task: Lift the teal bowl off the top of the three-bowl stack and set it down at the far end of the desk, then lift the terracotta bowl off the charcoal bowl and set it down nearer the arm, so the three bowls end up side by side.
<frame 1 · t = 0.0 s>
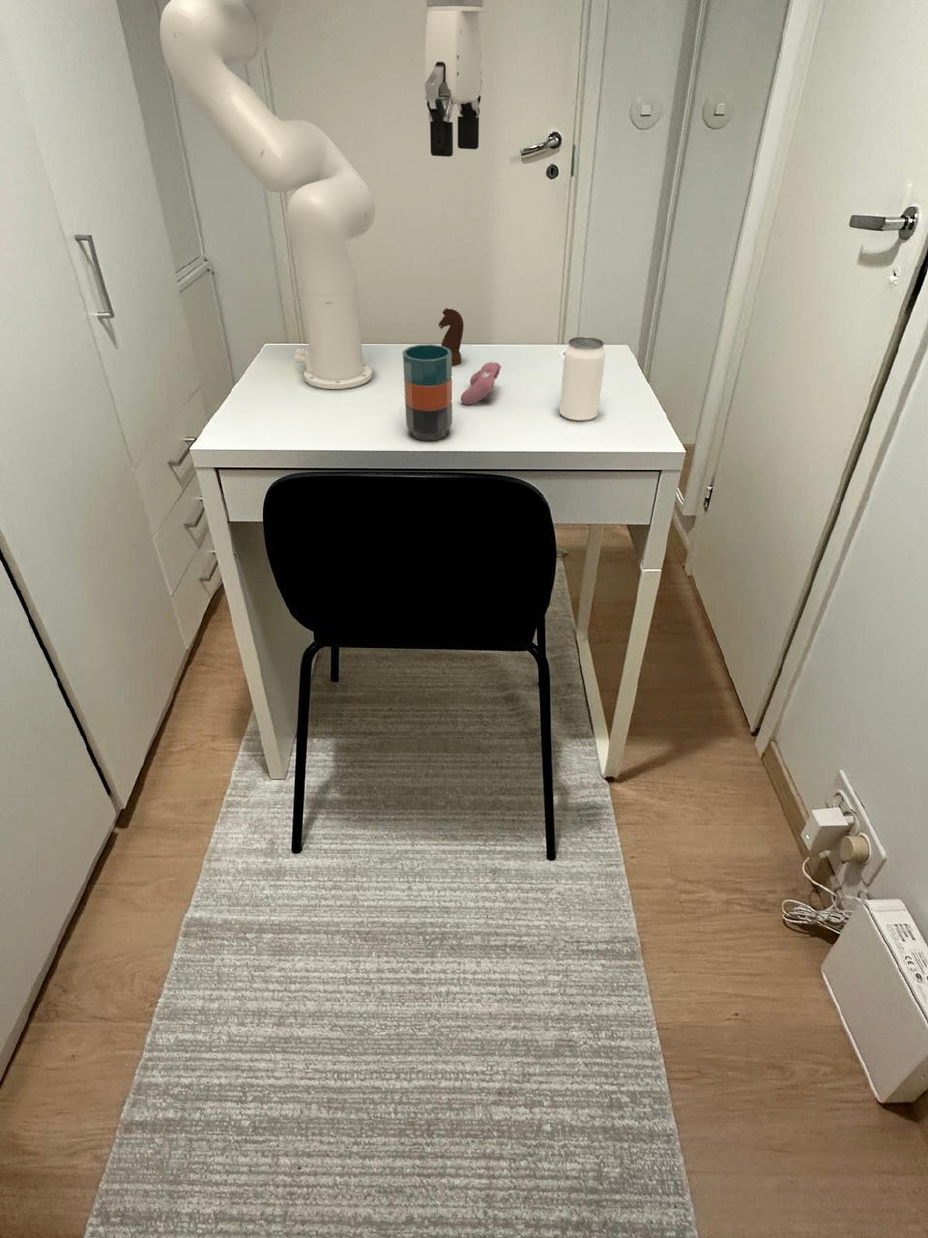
hand: (455, 151, 106), 37 cm above the table, tool pointing down, fingers open, 9 cm apart
middle bowl: (428, 411, 114), point 4 cm above the table, touching bottom bowl, top bowl
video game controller: (481, 397, 129), on the table
chess piece: (450, 363, 143), on the table
bottom bowl: (429, 433, 117), on the table, touching middle bowl
top bowl: (428, 387, 112), point 8 cm above the table, touching middle bowl
can: (578, 415, 123), on the table
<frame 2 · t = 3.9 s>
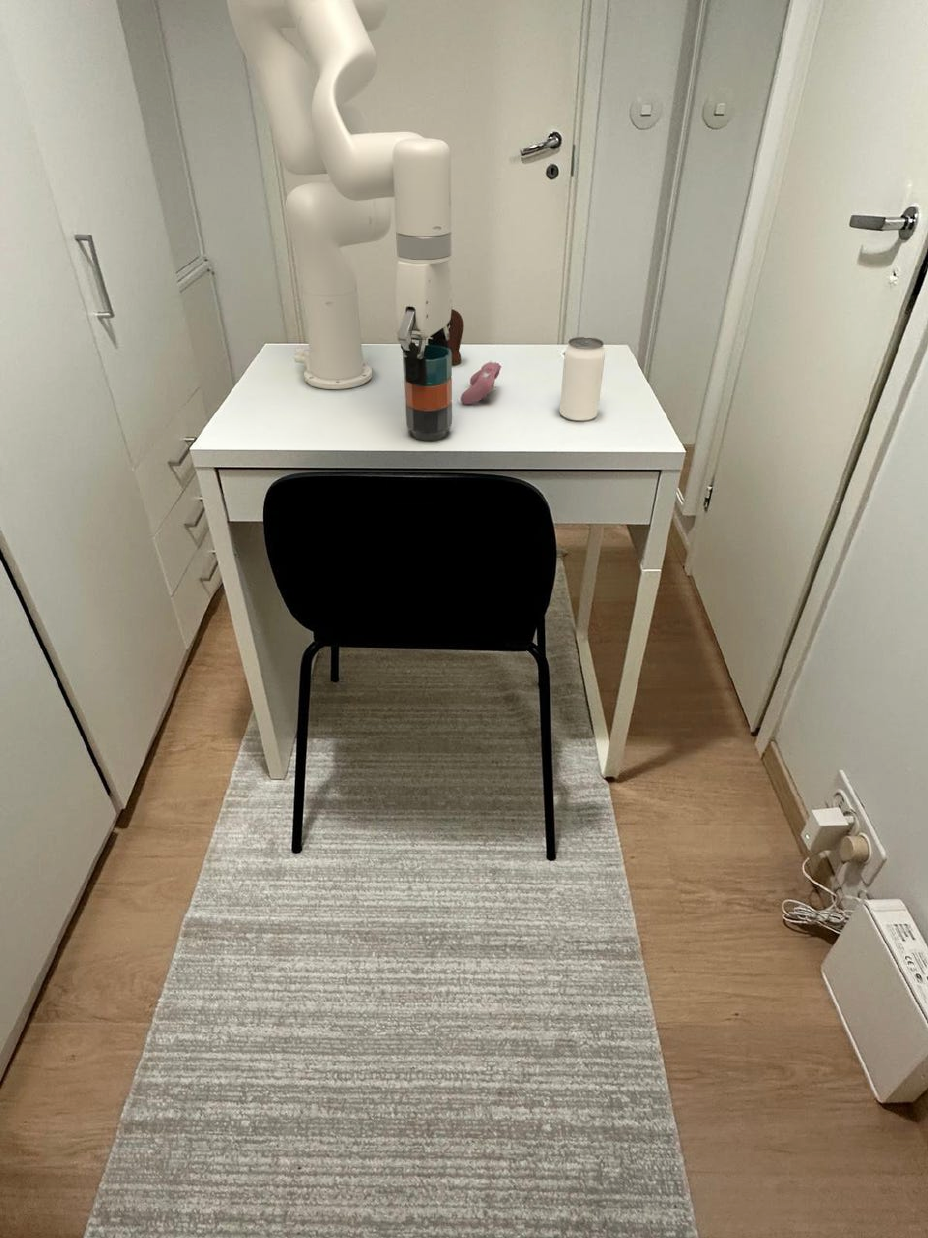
hand: (427, 373, 110), 10 cm above the table, tool pointing down, fingers closed on top bowl, 7 cm apart
top bowl: (428, 387, 112), point 8 cm above the table, touching gripper, middle bowl
everything else where it was.
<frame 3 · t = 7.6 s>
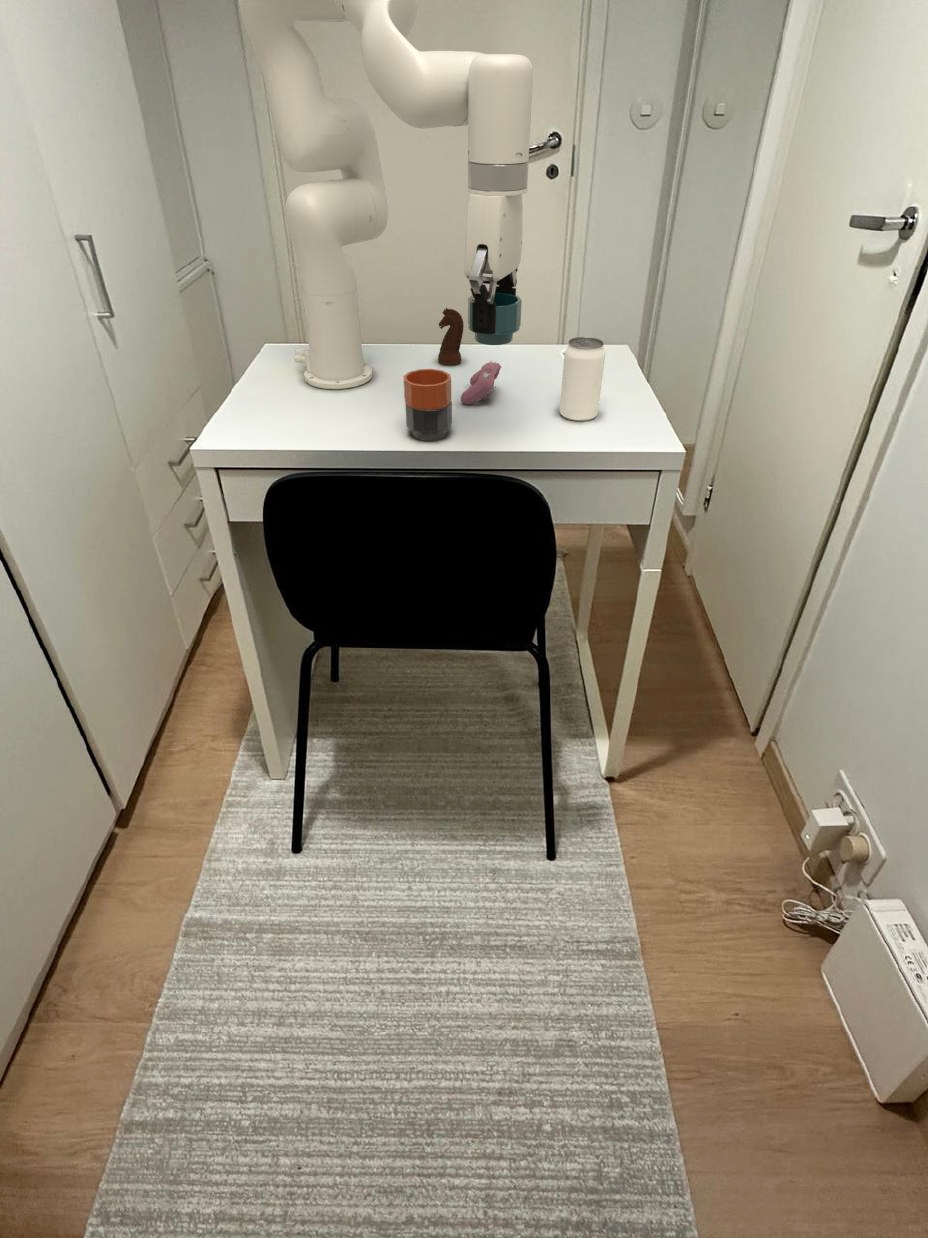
hand: (494, 323, 102), 18 cm above the table, tool pointing down, fingers closed on top bowl, 7 cm apart
middle bowl: (428, 410, 114), point 4 cm above the table, touching bottom bowl
top bowl: (493, 339, 103), point 16 cm above the table, touching gripper
everything else where it was.
when the fingers open (2 cm above the table, at t = 11.6 s): top bowl stays where it is, on the table.
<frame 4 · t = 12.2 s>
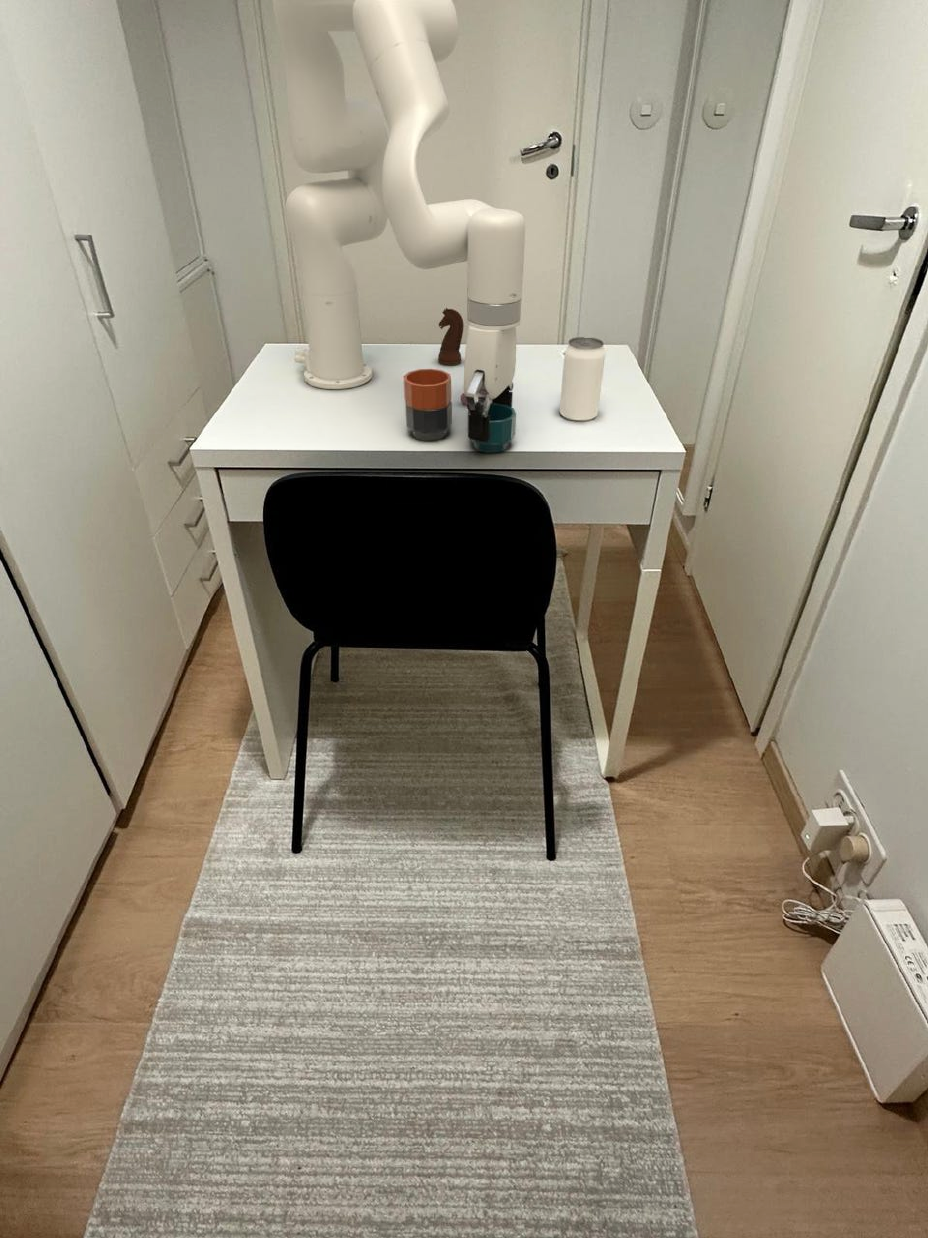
hand: (490, 427, 112), 3 cm above the table, tool pointing down, fingers open, 9 cm apart
top bowl: (490, 445, 113), on the table
everything else where it was.
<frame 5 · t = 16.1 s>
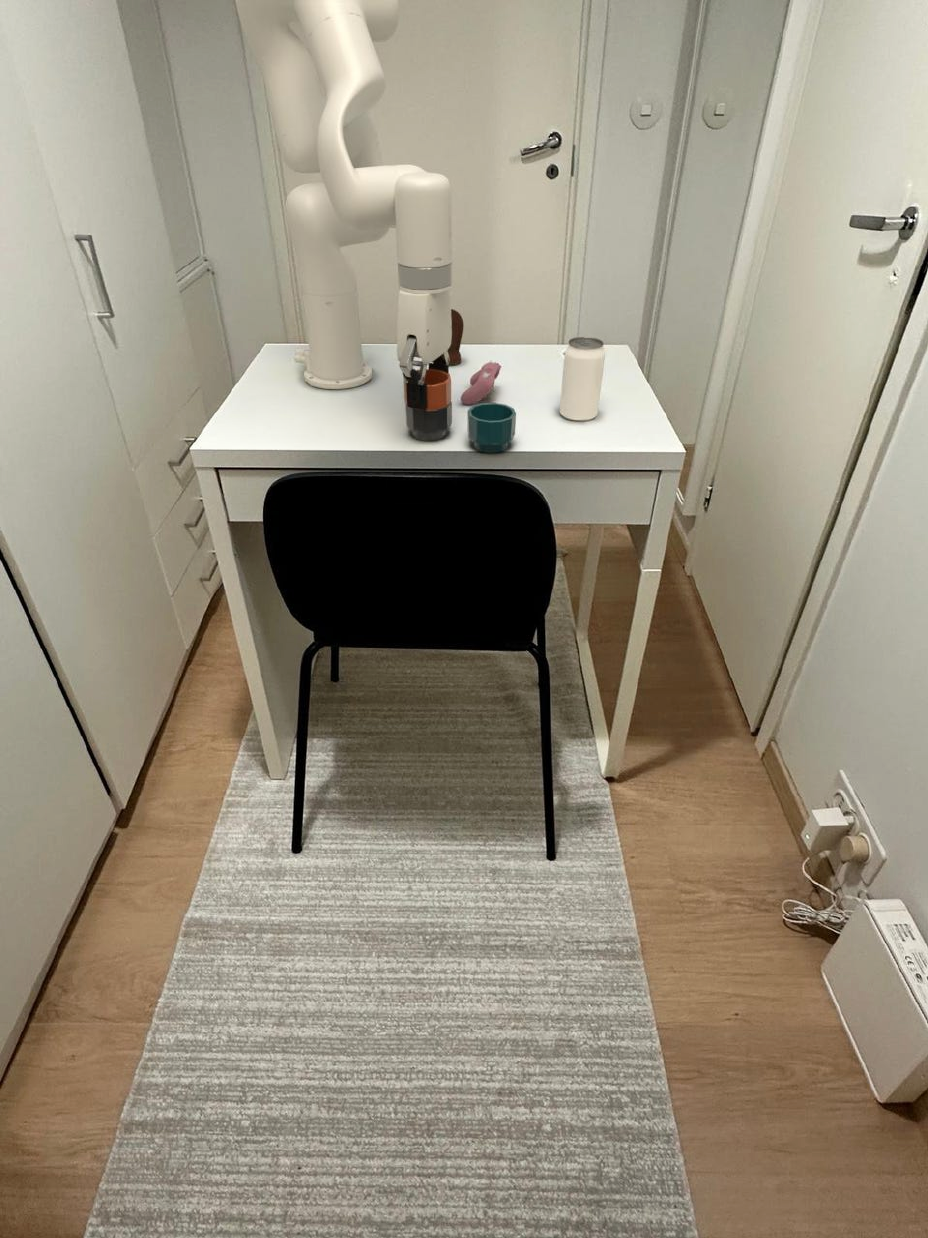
hand: (428, 397, 113), 6 cm above the table, tool pointing down, fingers closed on middle bowl, 7 cm apart
middle bowl: (428, 411, 114), point 4 cm above the table, touching bottom bowl, gripper
everything else where it was.
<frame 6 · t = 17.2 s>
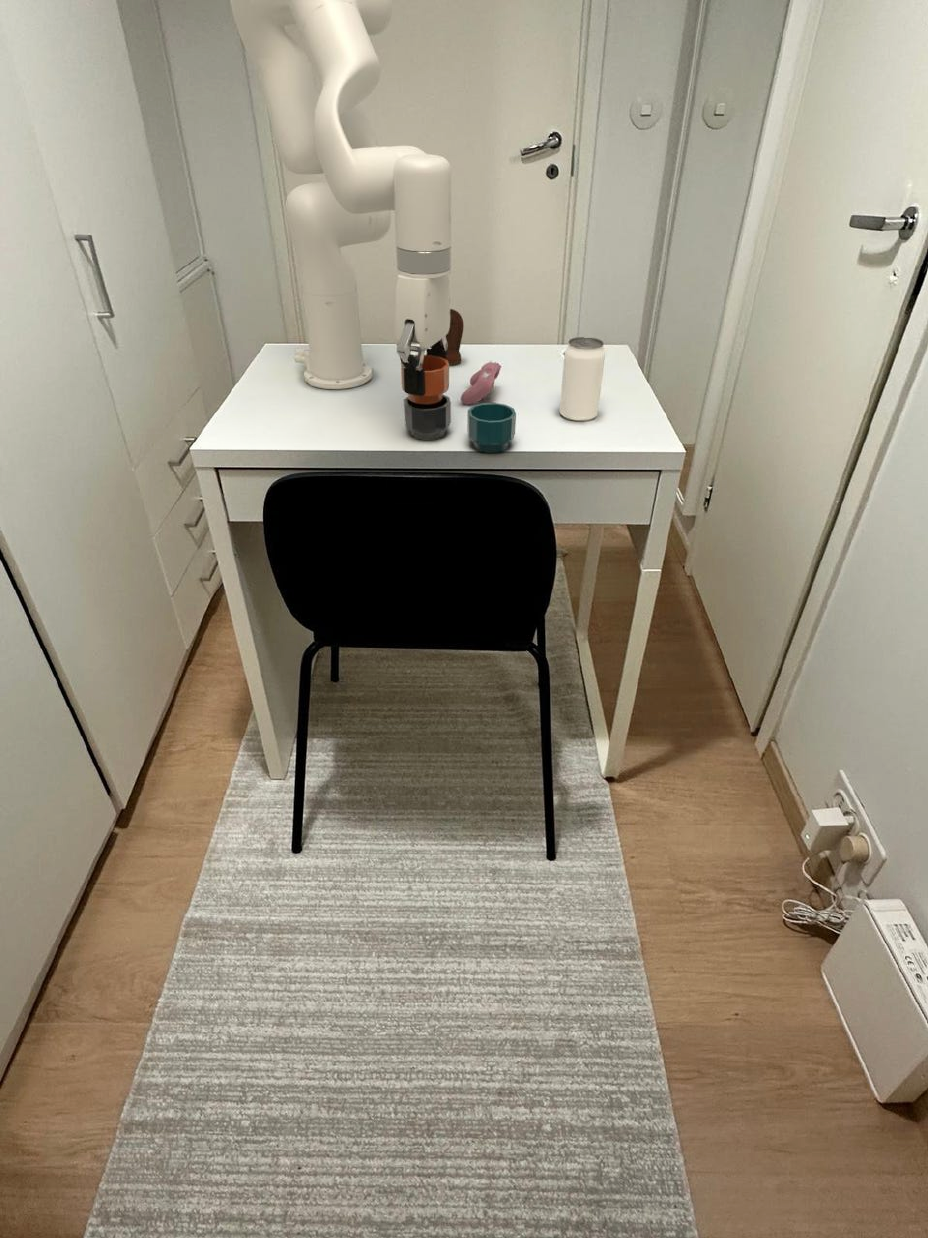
hand: (426, 383, 112), 8 cm above the table, tool pointing down, fingers closed on middle bowl, 7 cm apart
middle bowl: (425, 397, 113), point 6 cm above the table, touching gripper
bottom bowl: (428, 433, 117), on the table
everything else where it was.
when the fingers open (2 cm above the table, at t = 23.9 s): middle bowl stays where it is, on the table.
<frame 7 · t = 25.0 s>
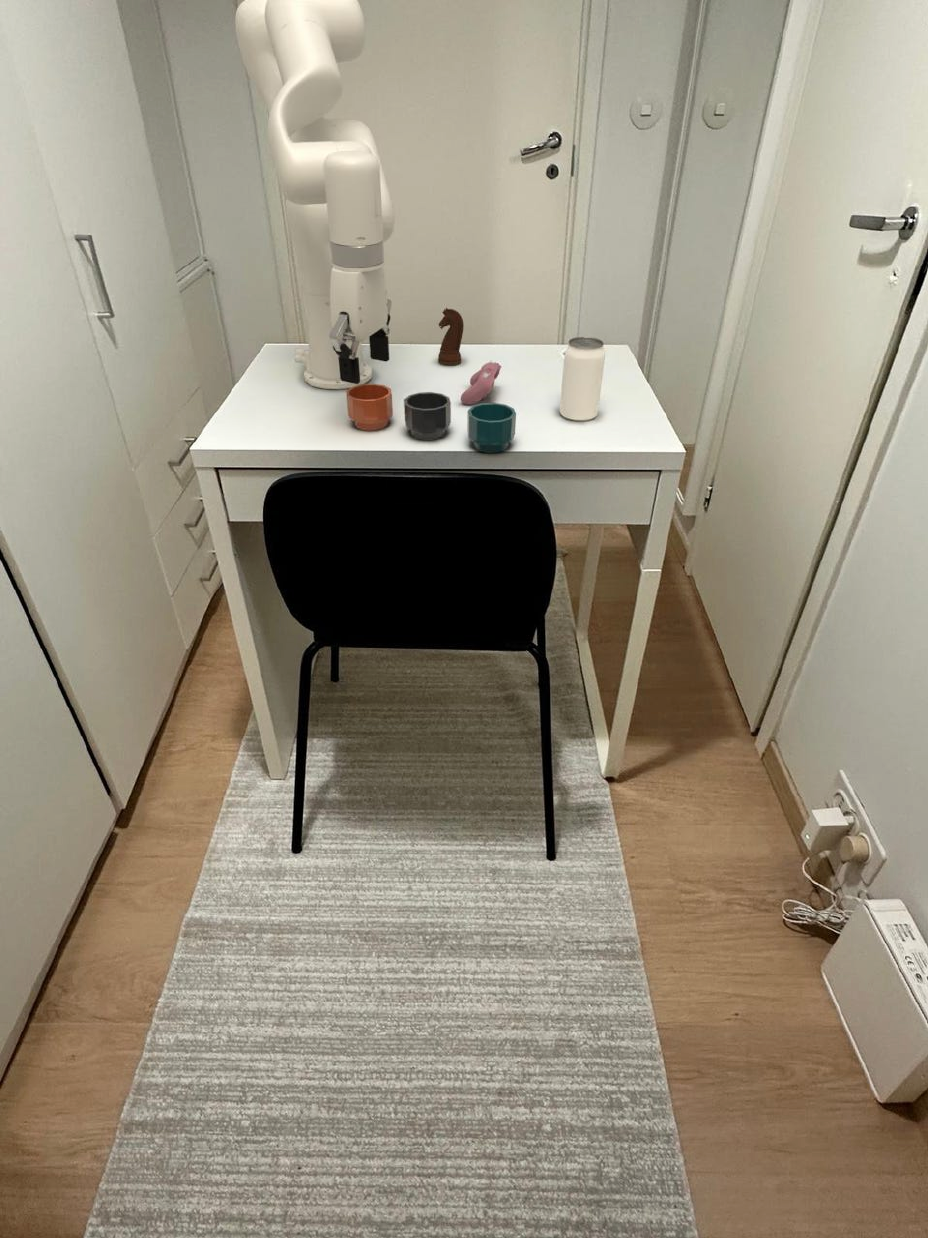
hand: (365, 370, 115), 8 cm above the table, tool pointing down, fingers open, 9 cm apart
middle bowl: (371, 423, 120), on the table
everything else where it was.
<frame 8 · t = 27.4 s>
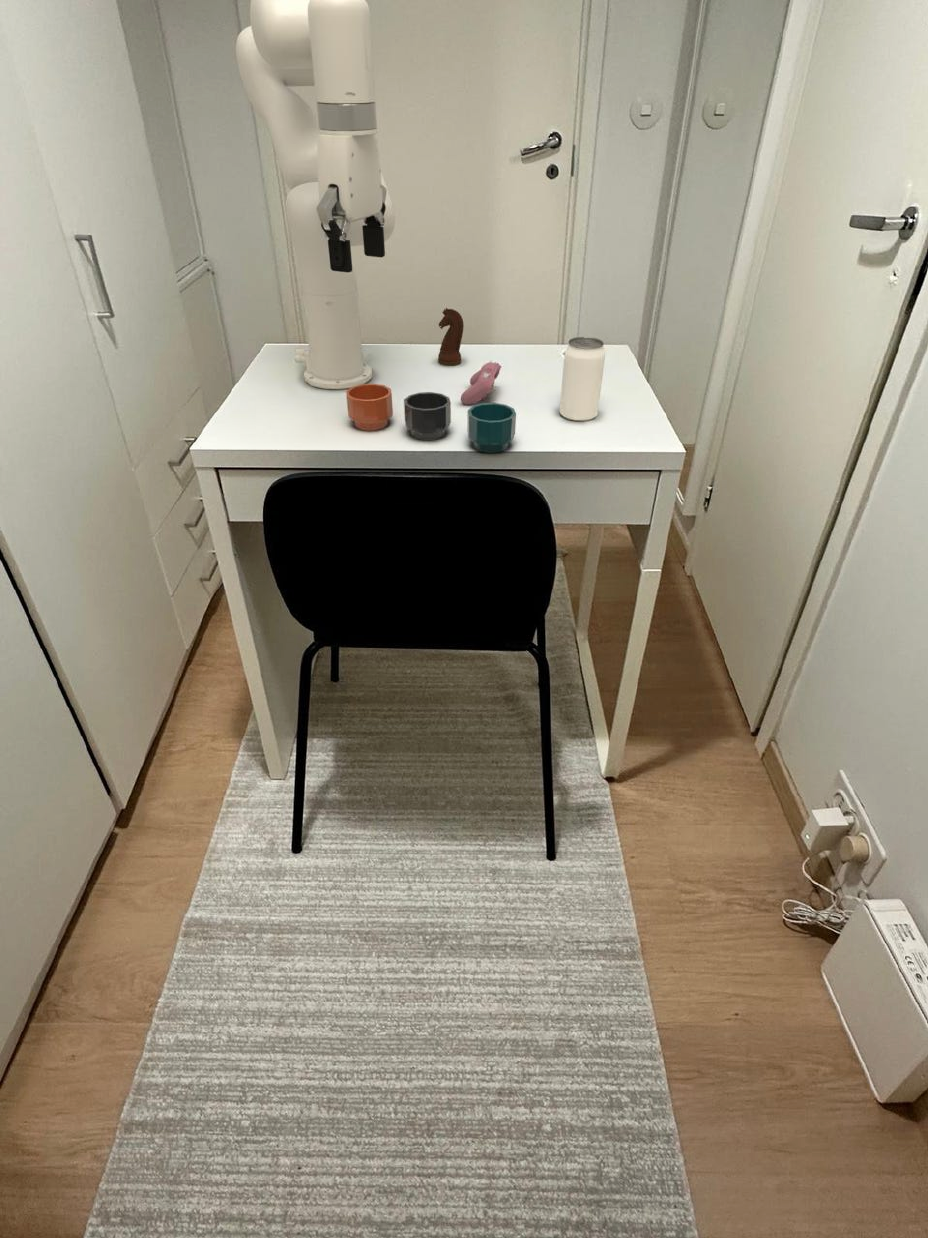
hand: (358, 263, 105), 24 cm above the table, tool pointing down, fingers open, 9 cm apart
nothing on the table moved.
at the end: top bowl 0.1 cm from the target spot, on the table; middle bowl 0.2 cm from the target spot, on the table; bottom bowl moved 0.3 cm from its start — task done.
